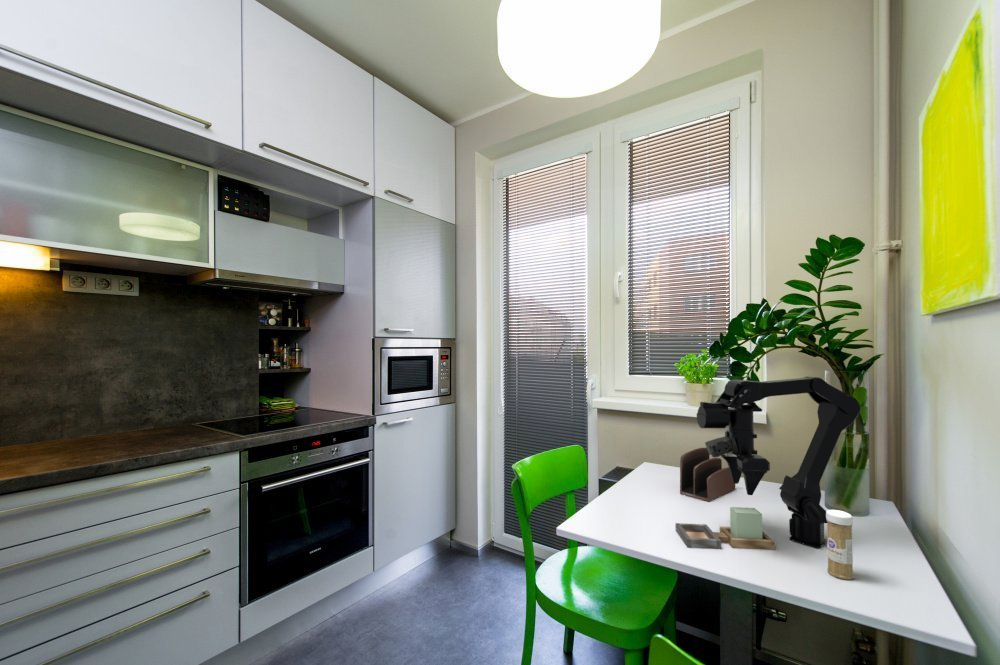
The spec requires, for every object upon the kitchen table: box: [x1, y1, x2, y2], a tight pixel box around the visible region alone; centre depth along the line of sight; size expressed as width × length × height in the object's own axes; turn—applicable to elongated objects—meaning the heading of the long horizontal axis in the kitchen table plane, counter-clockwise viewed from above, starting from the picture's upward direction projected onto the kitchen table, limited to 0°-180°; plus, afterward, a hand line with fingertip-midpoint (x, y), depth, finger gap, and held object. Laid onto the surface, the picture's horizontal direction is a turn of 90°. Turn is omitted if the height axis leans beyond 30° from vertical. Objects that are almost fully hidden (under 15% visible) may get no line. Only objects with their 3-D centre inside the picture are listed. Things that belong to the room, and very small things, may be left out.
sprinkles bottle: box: [826, 509, 854, 581], centre depth 94 cm, size 5×5×13 cm
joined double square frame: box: [675, 522, 776, 551], centre depth 111 cm, size 21×10×2 cm, turn 84°
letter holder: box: [679, 447, 736, 503], centre depth 149 cm, size 10×20×14 cm, turn 129°
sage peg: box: [729, 506, 763, 539], centre depth 111 cm, size 6×4×8 cm, turn 84°
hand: (742, 489), depth 112 cm, fingers open, 9 cm apart
